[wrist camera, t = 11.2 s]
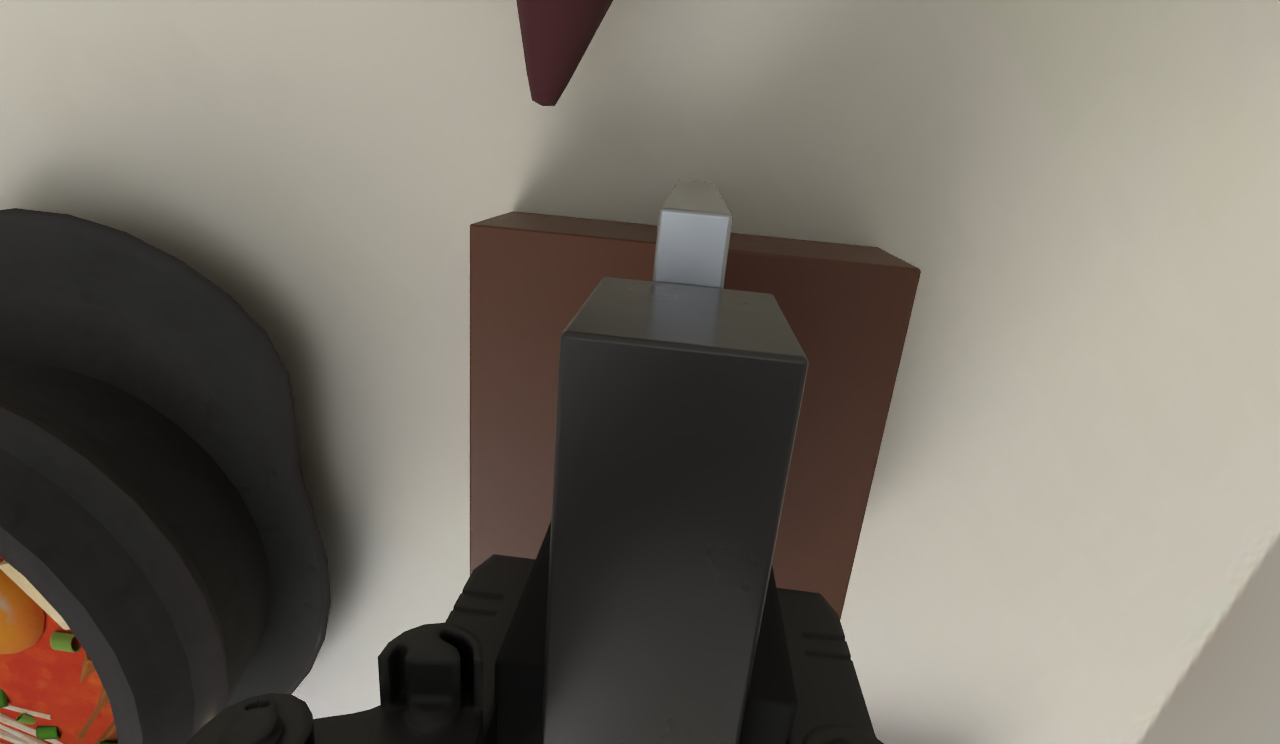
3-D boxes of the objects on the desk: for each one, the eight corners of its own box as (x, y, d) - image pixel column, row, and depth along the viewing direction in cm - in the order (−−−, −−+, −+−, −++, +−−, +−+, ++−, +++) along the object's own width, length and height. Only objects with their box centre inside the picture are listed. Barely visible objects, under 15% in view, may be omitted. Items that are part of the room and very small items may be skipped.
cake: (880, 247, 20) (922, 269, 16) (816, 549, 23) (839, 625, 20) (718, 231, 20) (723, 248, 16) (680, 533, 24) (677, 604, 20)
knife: (738, 185, 18) (830, 251, 6) (684, 597, 23) (669, 1125, 10) (653, 176, 18) (565, 226, 6) (616, 588, 23) (522, 1100, 10)
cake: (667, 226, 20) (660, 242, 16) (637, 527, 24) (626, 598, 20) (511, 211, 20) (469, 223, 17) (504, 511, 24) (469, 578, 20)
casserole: (289, 803, 30) (144, 1035, 22) (-98, 660, 29) (-393, 849, 21) (433, 332, 22) (285, 433, 14) (-98, 113, 21) (-576, 89, 13)
